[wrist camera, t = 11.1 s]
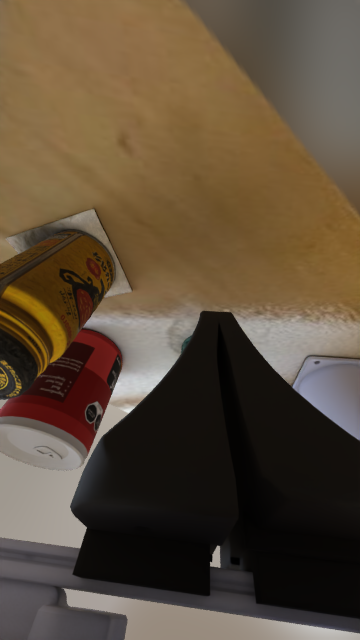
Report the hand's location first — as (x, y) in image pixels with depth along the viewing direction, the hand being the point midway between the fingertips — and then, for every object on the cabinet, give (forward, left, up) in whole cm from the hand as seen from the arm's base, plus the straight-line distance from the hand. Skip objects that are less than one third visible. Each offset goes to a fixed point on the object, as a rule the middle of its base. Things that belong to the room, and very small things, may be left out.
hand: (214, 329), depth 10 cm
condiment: (+12, +2, -10) cm, 16 cm away
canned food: (+13, +13, -10) cm, 21 cm away
